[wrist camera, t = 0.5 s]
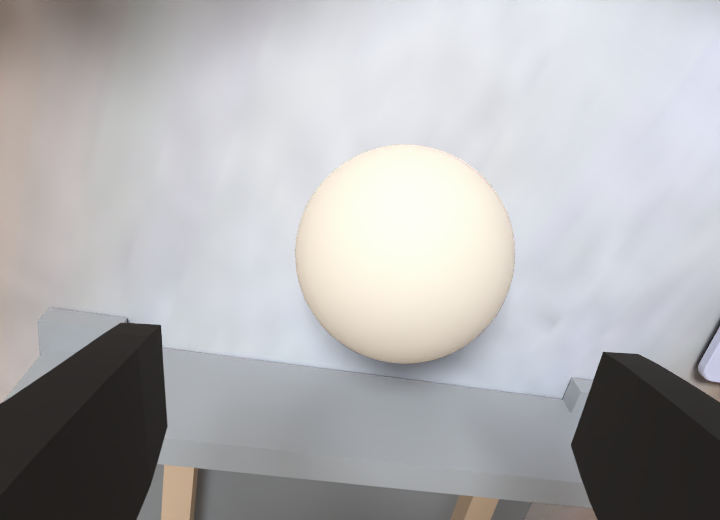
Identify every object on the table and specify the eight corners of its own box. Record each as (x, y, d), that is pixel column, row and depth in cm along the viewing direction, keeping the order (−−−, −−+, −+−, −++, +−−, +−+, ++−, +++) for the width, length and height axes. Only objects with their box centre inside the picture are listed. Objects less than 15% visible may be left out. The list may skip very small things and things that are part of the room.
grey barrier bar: (632, 385, 20) (698, 470, 17) (602, 446, 21) (656, 537, 18) (49, 307, 18) (-23, 388, 14) (53, 381, 19) (-12, 472, 15)
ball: (506, 142, 16) (588, 210, 11) (455, 306, 18) (503, 424, 13) (316, 106, 15) (309, 160, 10) (288, 281, 18) (271, 396, 13)
